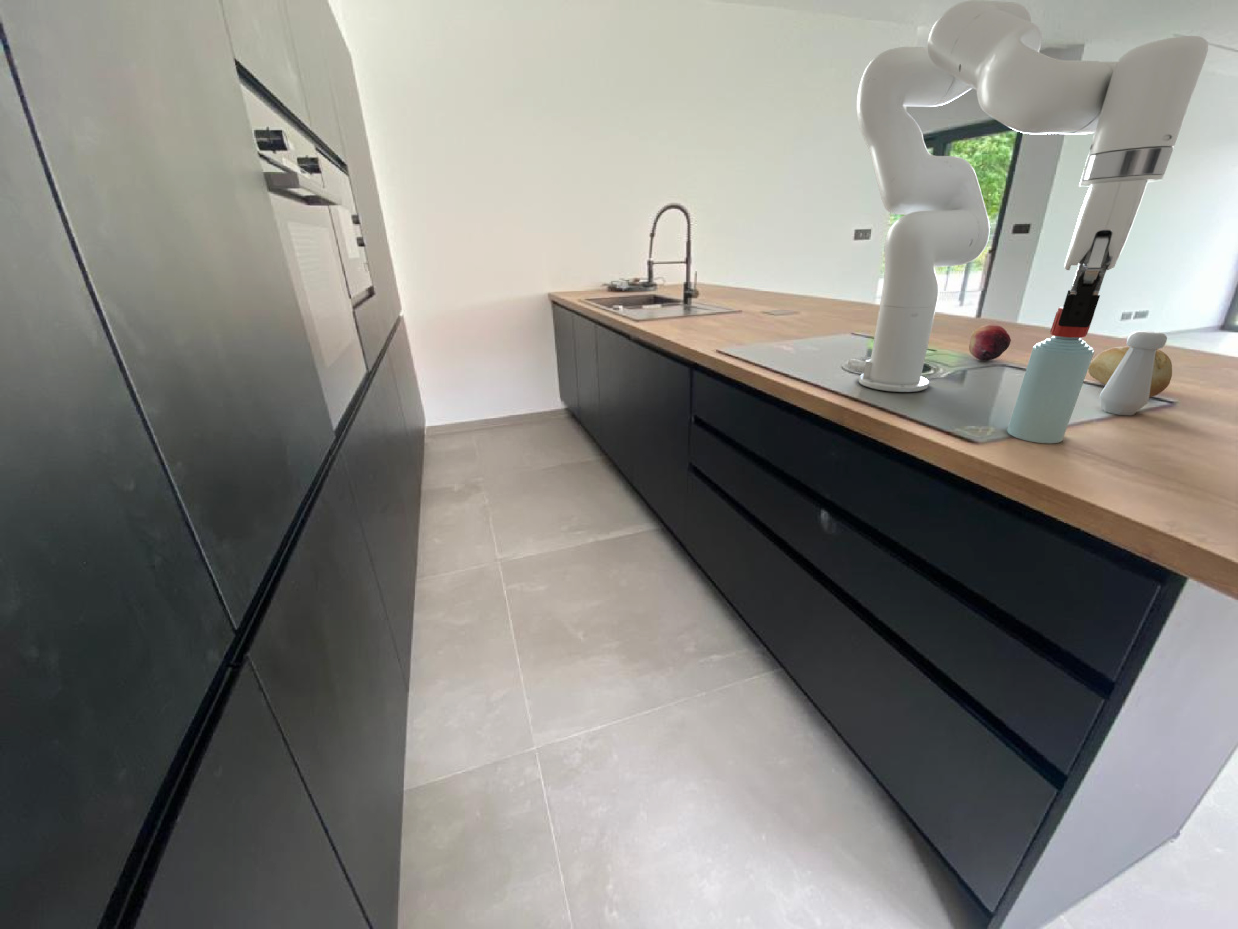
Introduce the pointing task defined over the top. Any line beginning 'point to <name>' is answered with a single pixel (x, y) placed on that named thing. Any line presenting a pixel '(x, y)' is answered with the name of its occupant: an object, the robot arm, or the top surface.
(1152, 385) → the potato
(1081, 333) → the cap
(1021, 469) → the top surface
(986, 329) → the fruit
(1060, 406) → the bottle
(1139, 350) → the salt shaker
